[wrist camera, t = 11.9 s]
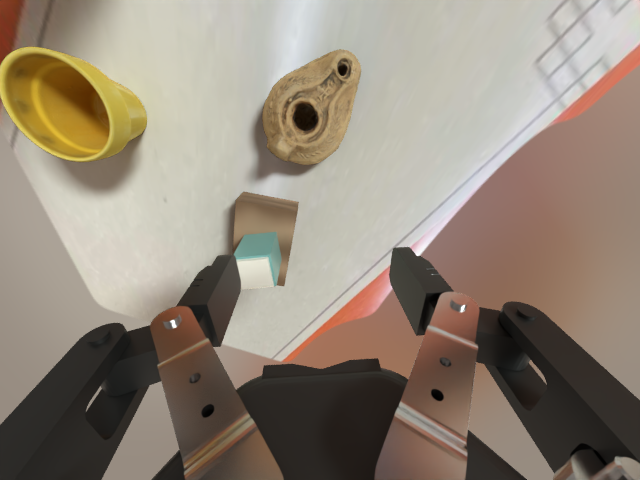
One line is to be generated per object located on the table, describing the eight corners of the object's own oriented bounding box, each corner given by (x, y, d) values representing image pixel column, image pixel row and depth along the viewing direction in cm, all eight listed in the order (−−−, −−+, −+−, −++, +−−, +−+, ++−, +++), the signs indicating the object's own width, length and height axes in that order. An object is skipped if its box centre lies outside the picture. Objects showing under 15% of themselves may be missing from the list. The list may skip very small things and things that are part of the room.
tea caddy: (244, 234, 37) (230, 260, 31) (276, 231, 37) (269, 256, 31) (251, 262, 40) (239, 291, 33) (281, 259, 40) (276, 288, 33)
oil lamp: (373, 78, 33) (391, 66, 26) (318, 175, 38) (321, 188, 31) (301, 25, 30) (299, -4, 23) (254, 139, 36) (240, 144, 28)
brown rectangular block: (243, 191, 39) (235, 200, 35) (298, 201, 40) (297, 211, 36) (238, 262, 45) (231, 278, 41) (286, 270, 47) (284, 286, 42)
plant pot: (176, 110, 33) (129, 108, 25) (141, 166, 37) (89, 181, 28) (99, 45, 30) (13, 15, 21) (68, 113, 33) (-19, 111, 24)
